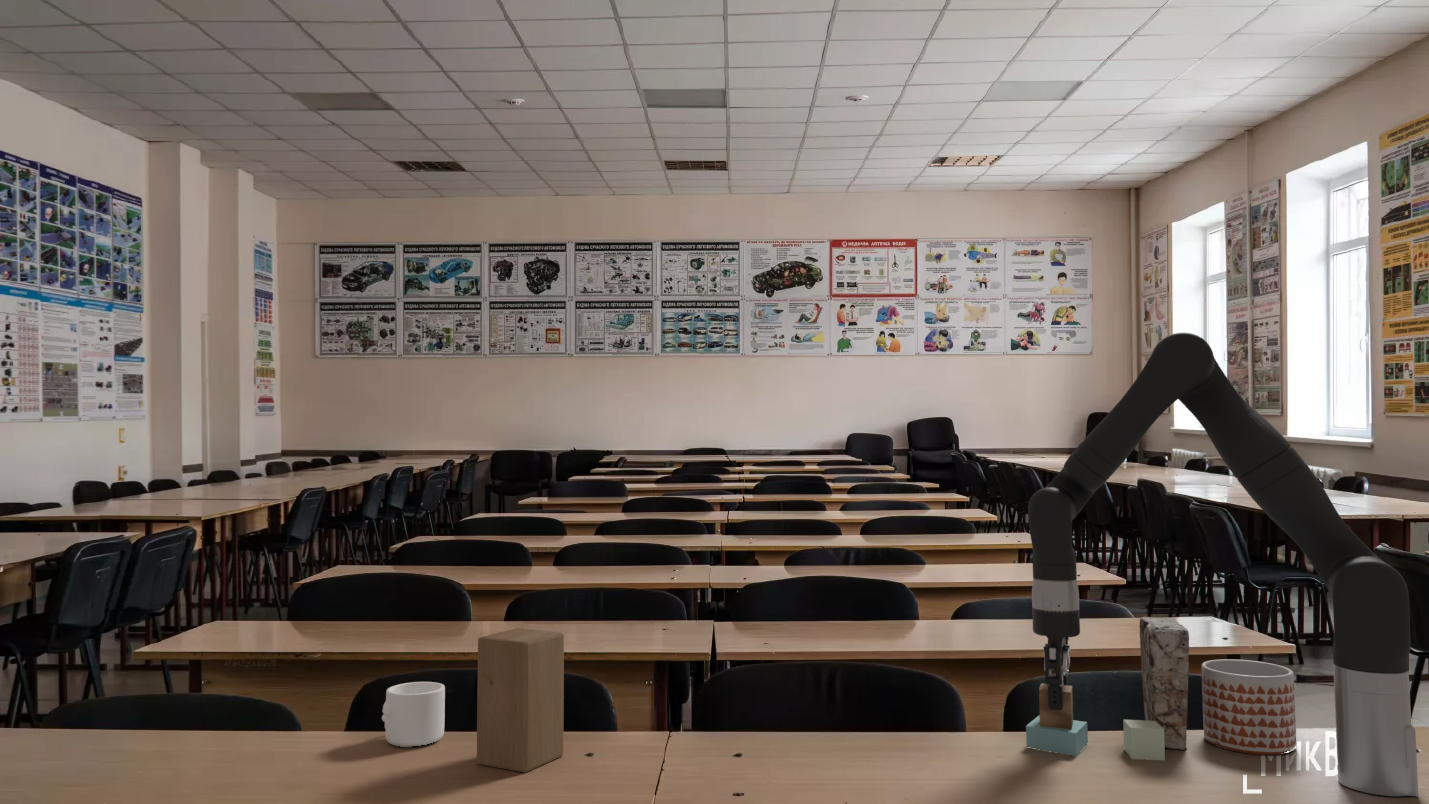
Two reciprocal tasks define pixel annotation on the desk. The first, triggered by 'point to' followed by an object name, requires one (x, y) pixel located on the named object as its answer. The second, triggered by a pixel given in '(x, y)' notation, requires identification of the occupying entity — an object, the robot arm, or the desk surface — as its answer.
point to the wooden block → (520, 699)
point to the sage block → (1144, 739)
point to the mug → (414, 713)
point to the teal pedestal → (1057, 737)
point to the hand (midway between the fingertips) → (1058, 703)
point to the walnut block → (1056, 716)
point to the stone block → (1165, 677)
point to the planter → (1249, 706)
